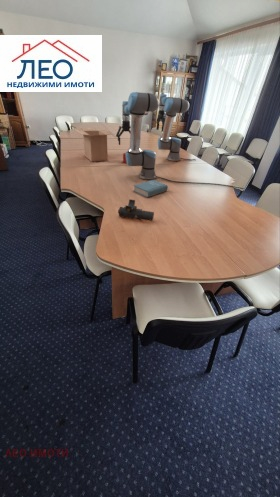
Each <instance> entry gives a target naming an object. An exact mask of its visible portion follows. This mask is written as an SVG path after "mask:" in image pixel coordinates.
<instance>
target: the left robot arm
mask: <svg viewBox="0 0 280 497" xmlns="http://www.w3.org/2000/svg"><path fill="white" fill-rule="evenodd" d="M121 104H122V105H121V108H122V111H121V113H122V114H121V116H122V118H121V119H122V120H121V123H122V124H121V126H120V125H119V126H118V129H117V132H116V133H115V137H116V138H117V141H118V145H119V146H121V136H122V135H123V134H124V132H126V133H127V132H128V133H129V147H128V148H127V151H125V153H126V162H127V163H126V165H127V166H128V167H141V169H140V172H139V178H140V179H142V180H146V181H150V180H156V178H158V179H161V180H165V181H168V182H172V183H181V184H195V182H192V181H176V180H170V179H167V178H164V177H160V176H157V174H156V169H155V167H156V159H157V153H156V152H155V151H154V150H152V149H151V150H150V149H142V148H141V138H142V127H143V117H144V116H148V115H149V113H152V112H156V111H157V110H159V104H160V99H159V98H158V97H157V95H155V94H154V93H150V92H141V91H139V92H137V91H132V92H130V93H129V96H128V99H127V100H123V101H122V103H121ZM196 184H197V185H199V184H201V185H217V186H223V187H229V188H234V189H235V188H236V189H240V190H244V187H240V186H235V185H229V184H221V183H213V182H212V183H211V182H196Z"/></svg>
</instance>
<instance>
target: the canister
mask: <svg viewBox="0 0 280 497" xmlns="http://www.w3.org/2000/svg"><path fill="white" fill-rule="evenodd" d="M122 162H123V163H124V164H127V162H126V152H123V153H122Z"/></svg>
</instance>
